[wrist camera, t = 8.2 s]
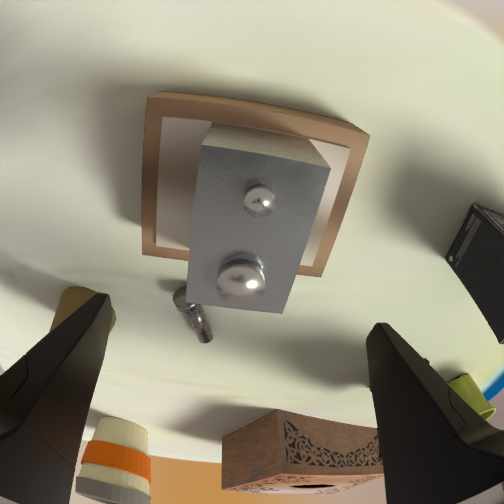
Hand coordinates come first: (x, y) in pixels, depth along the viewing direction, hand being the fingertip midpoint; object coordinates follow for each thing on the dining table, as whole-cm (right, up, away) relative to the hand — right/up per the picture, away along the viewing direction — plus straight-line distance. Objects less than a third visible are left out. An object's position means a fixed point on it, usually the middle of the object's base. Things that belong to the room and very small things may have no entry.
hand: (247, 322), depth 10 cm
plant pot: (+34, -20, +30) cm, 50 cm away
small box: (+23, +3, +14) cm, 27 cm away
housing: (0, +5, +7) cm, 9 cm away
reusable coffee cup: (-22, -28, +34) cm, 50 cm away
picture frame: (0, +7, +10) cm, 12 cm away
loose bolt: (-5, -3, +17) cm, 18 cm away
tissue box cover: (+10, -30, +37) cm, 48 cm away
